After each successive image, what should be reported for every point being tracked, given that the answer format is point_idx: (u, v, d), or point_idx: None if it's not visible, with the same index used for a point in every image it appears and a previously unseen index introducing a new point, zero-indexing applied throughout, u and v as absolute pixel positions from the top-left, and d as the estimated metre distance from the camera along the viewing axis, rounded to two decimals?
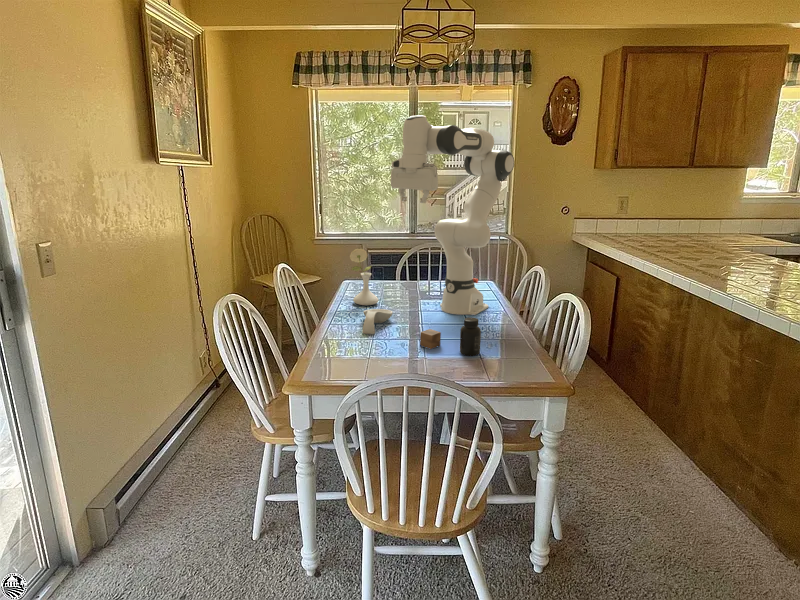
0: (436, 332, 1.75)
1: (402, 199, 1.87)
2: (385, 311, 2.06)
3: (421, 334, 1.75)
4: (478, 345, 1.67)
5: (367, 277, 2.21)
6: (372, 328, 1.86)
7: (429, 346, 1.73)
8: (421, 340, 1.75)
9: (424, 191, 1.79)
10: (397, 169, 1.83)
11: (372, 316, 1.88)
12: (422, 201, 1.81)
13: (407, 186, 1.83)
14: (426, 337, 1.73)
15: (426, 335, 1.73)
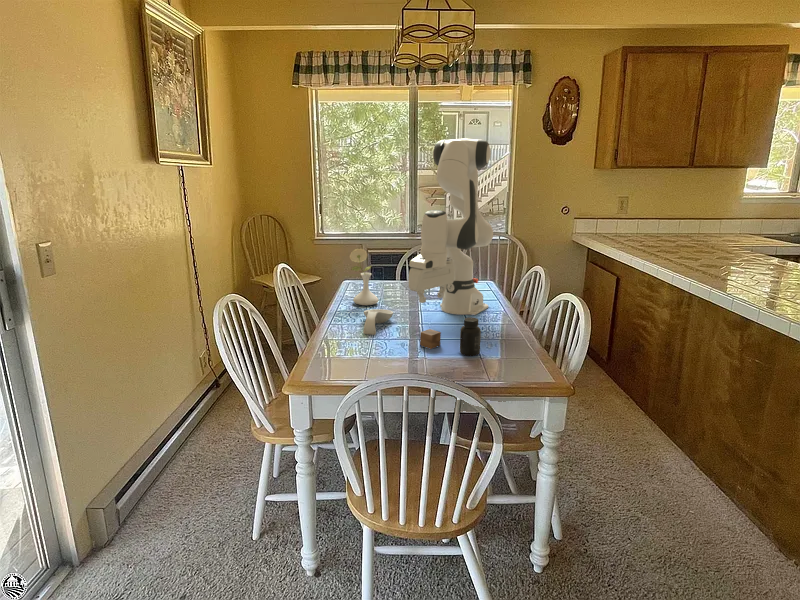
0: (436, 332, 1.75)
1: (424, 300, 1.68)
2: (385, 311, 2.06)
3: (421, 334, 1.75)
4: (478, 345, 1.67)
5: (367, 277, 2.21)
6: (373, 328, 1.85)
7: (429, 346, 1.73)
8: (421, 340, 1.75)
9: (445, 285, 1.74)
10: (428, 270, 1.63)
11: (373, 317, 1.87)
12: (443, 296, 1.75)
13: (433, 285, 1.68)
14: (426, 337, 1.73)
15: (426, 335, 1.73)
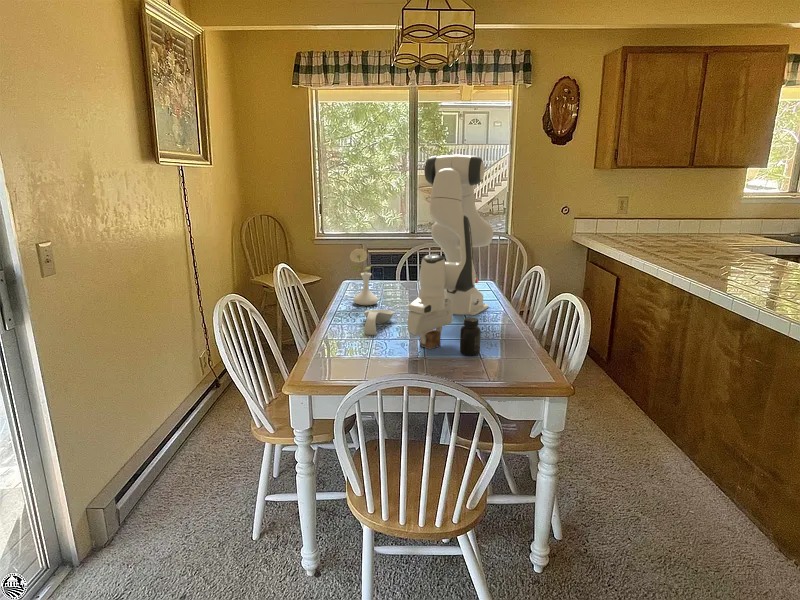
0: (436, 332, 1.75)
1: (426, 341, 1.73)
2: (386, 312, 2.06)
3: None
4: (478, 345, 1.67)
5: (367, 277, 2.21)
6: (374, 329, 1.85)
7: (429, 346, 1.73)
8: None
9: (441, 327, 1.77)
10: (426, 314, 1.67)
11: (373, 317, 1.87)
12: None
13: (432, 327, 1.72)
14: (426, 337, 1.73)
15: (426, 334, 1.73)
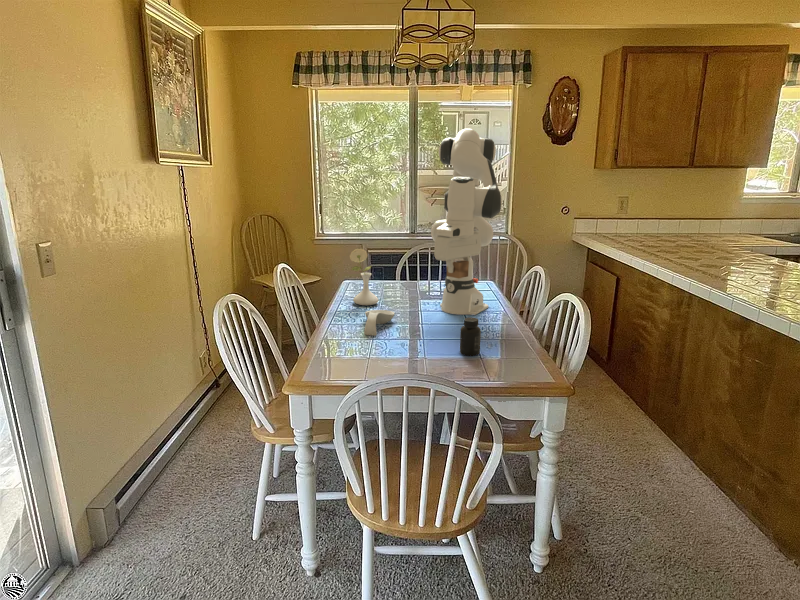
0: (464, 261, 1.64)
1: (453, 270, 1.62)
2: (387, 312, 2.05)
3: None
4: (478, 345, 1.67)
5: (367, 277, 2.21)
6: (374, 329, 1.84)
7: (457, 275, 1.62)
8: None
9: (469, 257, 1.66)
10: (454, 238, 1.56)
11: (374, 317, 1.86)
12: None
13: (460, 255, 1.61)
14: (453, 265, 1.62)
15: (454, 263, 1.62)
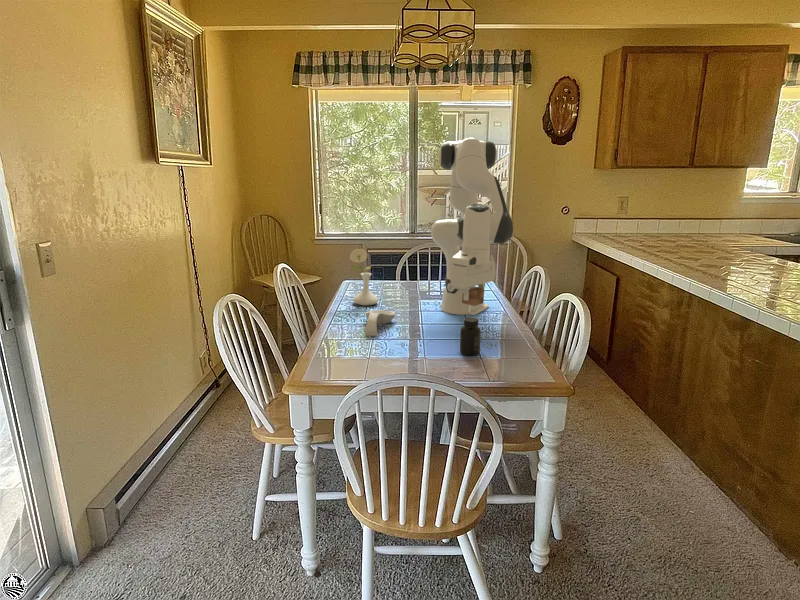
0: (479, 288, 1.64)
1: (469, 298, 1.62)
2: (387, 312, 2.05)
3: None
4: (478, 345, 1.67)
5: (367, 277, 2.21)
6: (375, 330, 1.84)
7: (472, 303, 1.62)
8: (463, 297, 1.64)
9: (484, 284, 1.66)
10: (471, 267, 1.56)
11: (374, 318, 1.86)
12: None
13: (475, 283, 1.61)
14: (469, 293, 1.62)
15: (469, 290, 1.62)
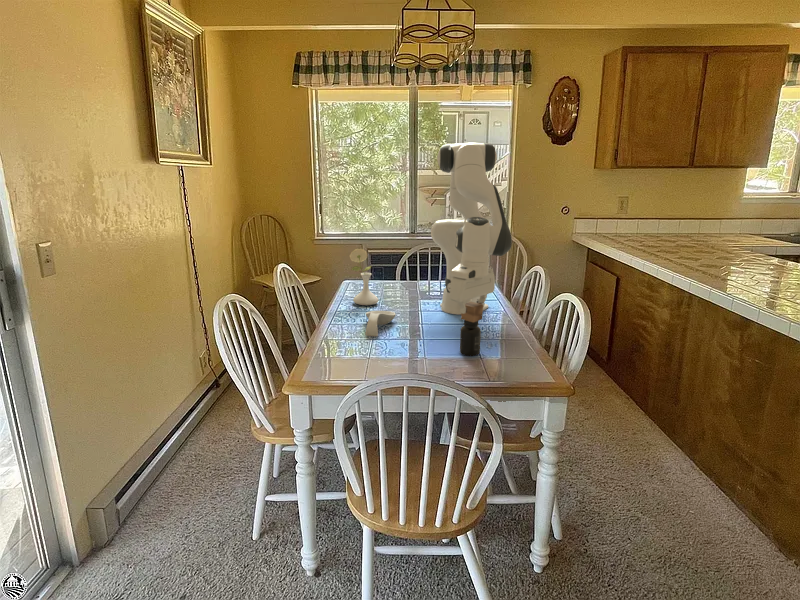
0: (478, 304, 1.65)
1: (466, 311, 1.62)
2: (388, 313, 2.04)
3: None
4: (478, 345, 1.67)
5: (367, 277, 2.21)
6: (375, 330, 1.83)
7: (471, 319, 1.64)
8: (462, 313, 1.66)
9: (486, 295, 1.68)
10: (470, 280, 1.57)
11: (375, 318, 1.85)
12: (483, 305, 1.69)
13: (474, 295, 1.62)
14: (468, 309, 1.64)
15: (468, 307, 1.63)
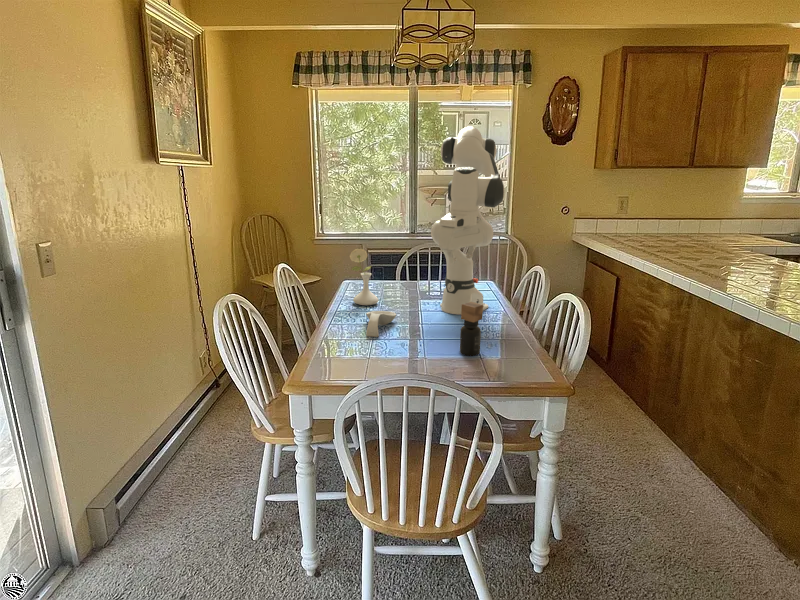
0: (478, 304, 1.65)
1: (454, 260, 1.64)
2: (388, 313, 2.04)
3: (462, 307, 1.65)
4: (478, 345, 1.67)
5: (367, 277, 2.21)
6: (376, 331, 1.83)
7: (471, 319, 1.64)
8: (462, 313, 1.66)
9: (474, 245, 1.70)
10: (458, 228, 1.59)
11: (376, 319, 1.85)
12: (472, 256, 1.71)
13: (463, 245, 1.64)
14: (468, 309, 1.64)
15: (468, 307, 1.63)
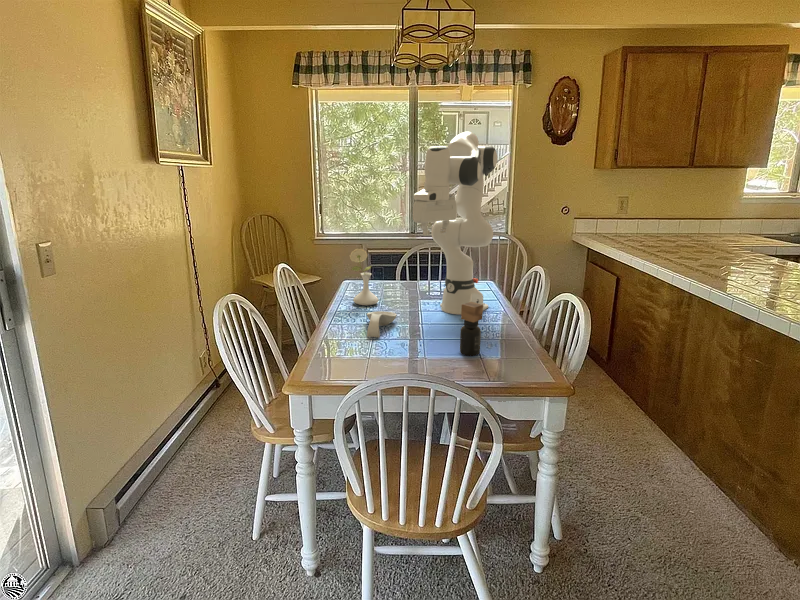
0: (478, 304, 1.65)
1: (428, 233, 1.75)
2: (389, 313, 2.03)
3: (462, 307, 1.65)
4: (478, 345, 1.67)
5: (367, 277, 2.21)
6: (377, 331, 1.82)
7: (471, 319, 1.64)
8: (462, 313, 1.66)
9: (448, 221, 1.81)
10: (431, 202, 1.70)
11: (377, 319, 1.84)
12: (445, 231, 1.82)
13: (436, 219, 1.75)
14: (468, 309, 1.64)
15: (468, 307, 1.63)
